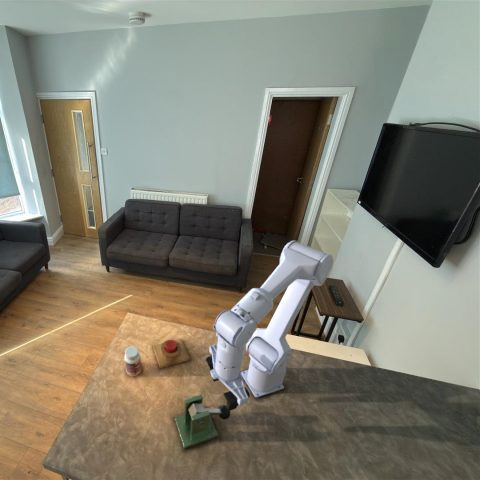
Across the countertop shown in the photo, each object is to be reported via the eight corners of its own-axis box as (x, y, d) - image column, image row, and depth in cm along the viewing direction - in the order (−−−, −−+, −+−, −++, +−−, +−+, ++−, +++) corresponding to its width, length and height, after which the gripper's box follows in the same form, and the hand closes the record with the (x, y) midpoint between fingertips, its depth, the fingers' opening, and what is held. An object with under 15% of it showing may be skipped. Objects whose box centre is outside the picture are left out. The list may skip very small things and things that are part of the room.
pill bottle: (138, 377, 79) (137, 359, 76) (124, 375, 80) (121, 356, 76) (142, 364, 84) (141, 346, 80) (128, 361, 84) (126, 343, 81)
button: (174, 342, 87) (174, 339, 87) (178, 351, 84) (178, 347, 84) (164, 345, 87) (164, 341, 86) (167, 354, 84) (167, 350, 83)
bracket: (205, 409, 71) (207, 387, 67) (217, 436, 65) (221, 415, 61) (174, 419, 69) (174, 398, 64) (184, 449, 63) (184, 428, 58)
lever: (222, 410, 70) (228, 402, 69) (228, 422, 67) (234, 414, 66) (186, 408, 65) (193, 400, 64) (191, 422, 62) (198, 413, 61)
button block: (180, 340, 91) (181, 334, 90) (189, 360, 84) (189, 353, 83) (153, 348, 89) (153, 341, 88) (159, 368, 82) (159, 361, 81)
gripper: (199, 336, 64) (197, 372, 71) (229, 392, 52) (223, 429, 58) (225, 330, 66) (220, 365, 72) (260, 381, 54) (251, 418, 60)
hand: (223, 393), depth 66 cm, fingers open, 7 cm apart
